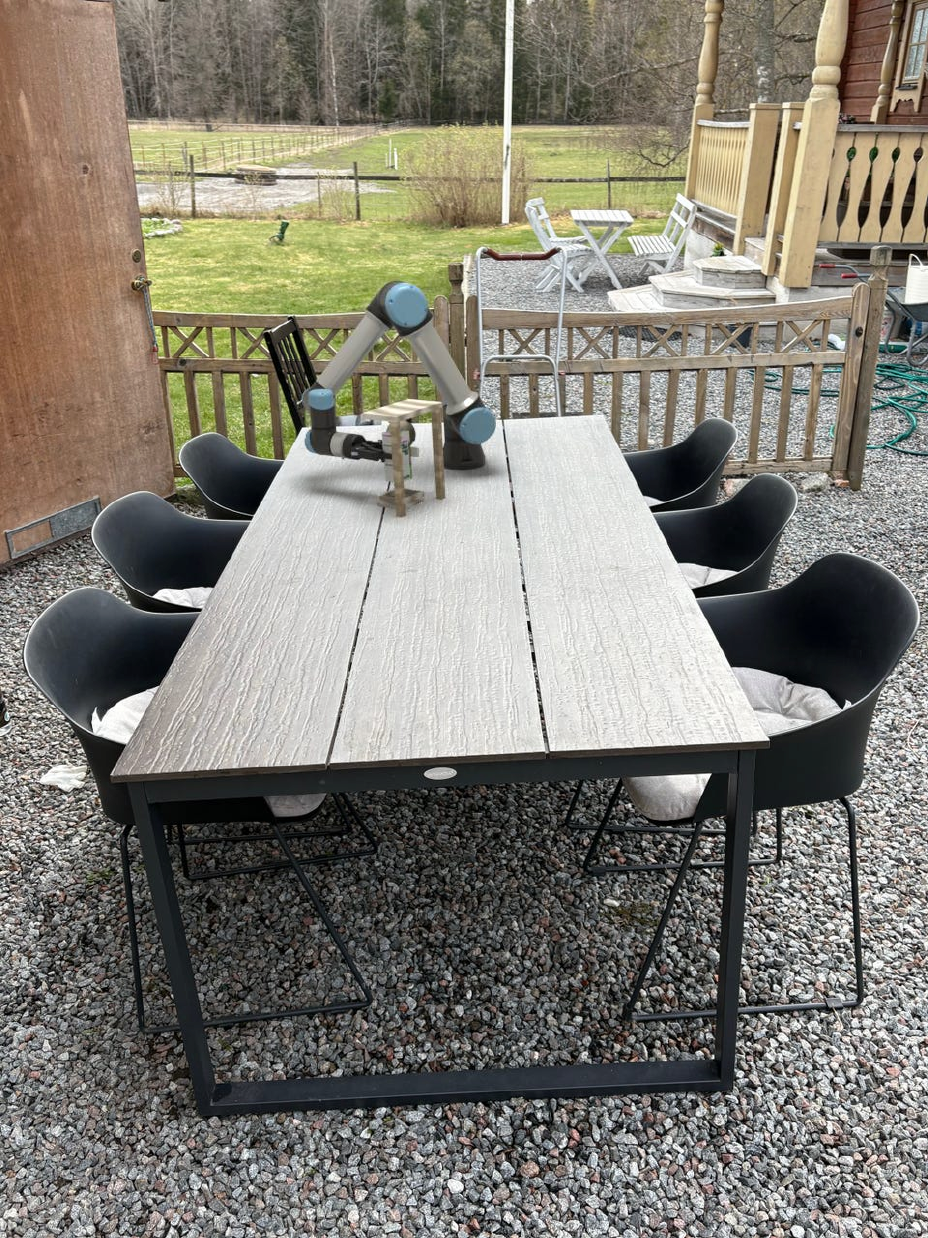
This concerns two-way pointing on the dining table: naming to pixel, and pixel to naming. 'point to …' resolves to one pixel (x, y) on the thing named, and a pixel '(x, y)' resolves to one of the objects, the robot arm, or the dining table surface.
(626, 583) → the dining table surface
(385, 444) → the syrup box
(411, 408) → the awning stand
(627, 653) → the dining table surface
